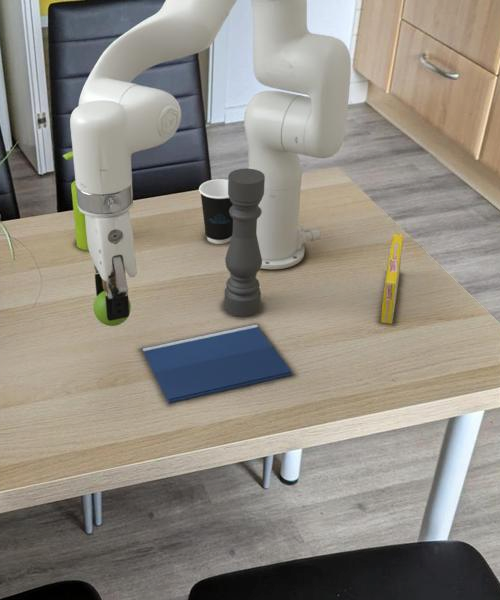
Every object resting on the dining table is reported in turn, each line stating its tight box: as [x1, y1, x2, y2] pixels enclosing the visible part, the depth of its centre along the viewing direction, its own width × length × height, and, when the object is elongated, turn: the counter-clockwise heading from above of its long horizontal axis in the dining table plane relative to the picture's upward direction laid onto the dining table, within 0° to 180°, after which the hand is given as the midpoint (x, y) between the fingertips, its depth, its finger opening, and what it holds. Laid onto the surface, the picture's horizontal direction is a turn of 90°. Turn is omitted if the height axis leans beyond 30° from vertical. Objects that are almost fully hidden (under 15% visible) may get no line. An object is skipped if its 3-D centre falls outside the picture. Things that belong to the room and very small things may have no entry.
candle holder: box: [223, 167, 265, 318], centre depth 138 cm, size 6×6×25 cm
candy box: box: [380, 233, 404, 325], centre depth 142 cm, size 16×2×8 cm, turn 161°
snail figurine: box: [93, 272, 132, 327], centre depth 120 cm, size 5×6×12 cm
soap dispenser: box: [62, 150, 89, 252], centre depth 161 cm, size 6×7×20 cm
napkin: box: [141, 323, 293, 404], centre depth 132 cm, size 20×14×1 cm
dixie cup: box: [198, 178, 233, 245], centre depth 162 cm, size 8×8×11 cm
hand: (112, 305), depth 121 cm, fingers closed on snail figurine, 5 cm apart
